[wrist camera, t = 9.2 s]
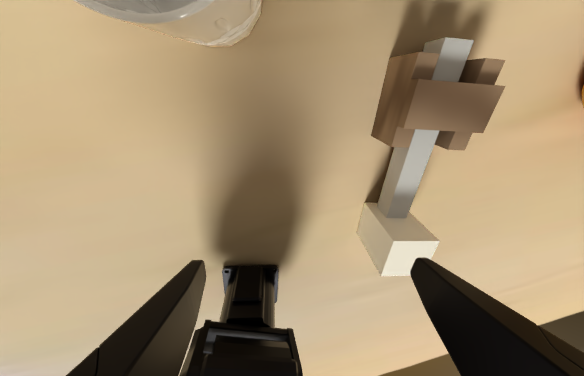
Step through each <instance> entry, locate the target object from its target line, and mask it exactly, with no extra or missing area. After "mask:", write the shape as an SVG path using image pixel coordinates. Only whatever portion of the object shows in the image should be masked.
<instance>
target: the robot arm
mask: <svg viewBox="0 0 584 376" xmlns="http://www.w3.org/2000/svg"><path fill="white" fill-rule="evenodd" d="M274 269H275V270H274ZM227 270H228V271H227ZM222 274H223V283H224V291H225V299H224V303H223V307H222V312H221V316H220V321H219V322H214V321H211V320H205V323H204V327H202V328H200V329H198V330H195V333H194V336H193V339H192V343H191V346H190V349H189V352H188V354H187V357H186V360H185V362H184V365H183V367H182V370H181V373H180V375H179V372H180V369H181V366H182V363H183V360H184V357H185V354H186V351H187V348H188V345H189V342H190V339H191V336H192V333H193V330H194V327H195V324H196V321H197V317H198V313H199V308H200V304H201V299H202V295H203V290H204V286H205V282H206V271H205V265H204V261H203V260H192V261H191V262H190V263H189V264H187V265H186V266H185V267H184V268H183V269H182V270H181V271H180V272H179V273H178V274H177V275H175V276H174V277H173V278H172V279H171V280H170V281H169V282H168V283H167V284H166V285H165V286H164V287H162V288H161V289H160V290H159V291H158V292H157V293H156V294H155V295H154V296H153V297H152V298H150V299H149V300H148V301H147V302H146V303H145V304H144V305H143V306H142V307H141V308H140V309H139V310H137V311H136V312H135V313H134V314H133V315H132V316H131V317H130V318H129V319H128V320H127V321H125V322H124V323H123V324H122V325H121V326H120V327H119V328H118V329H117V330H116V331H115V332H113V333H112V334H111V335H110V336H109V337H108V338H107V339H106V340H105V341H104V342H103V343H102V344H100V346H99V348H96V349H95V350H94V351H93V352H92V353H91V354H89V355H88V356H87V357H86V358H85V359H84V360H83V361H82V362H81V363H80V364H78V365H77V366H76V367H75V368H74V369H73V370H72V371H71V372H69V373H68V374H67V375H66V376H178V375H179V376H303V373H302V367H301V363H300V359H299V354H298V350H297V346H296V341H295V337H294V333H293V329H291V328H287V329H281V328H275V307H274V303H276V302H277V289H278V266H276V265H261V266H225V267H224V268H223V270H222ZM410 274H411V278H412V280H413V282H414V285H415V287H416V289H417V291H418V294H419V296H420V298H421V301H422V303H423V305H424V307H425V310H426V312H427V314H428V316H429V318H430V319H431V321H432V323H433V325H434V327H435V329H436V331H437V332H438V334H439V336H440V338H441V340H442V342H443V343H444V345H445V347H446V349H447V351H448V353H449V354H450V356H451V358H452V360H453V362H454V364H455V365H456V367H457V369H458V371H459V373H460V375H461V376H584V352H582V351H580V350H578V349H576V348H575V347H573V346H572V345H570V344H568V343H566V342H565V341H563V340H561V339H560V338H558V337H556V336H555V335H553V334H551V333H550V332H548V331H547V330H545V329H543V328H542V327H540V326H538V325H536V324H535V323H534V322H532V321H530V320H529V319H527V318H525V317H524V316H522V315H520V314H519V313H517V312H515V311H514V310H512V309H511V308H509V307H507V306H506V305H504V304H502V303H501V302H499V301H497V300H496V299H494V298H493V297H491V296H489V295H488V294H486V293H484V292H483V291H481V290H479V289H478V288H476V287H474V286H473V285H471V284H470V283H468V282H466V281H465V280H463V279H461V278H460V277H458V276H456V275H455V274H453V273H451V272H450V271H448V270H447V269H445V268H443V267H442V266H440V265H438V264H437V263H435V262H433V261H432V260H430V259H429V258H425V257H419V258H416V259H415V261H414V264H413V266H412V268H411V271H410Z"/></svg>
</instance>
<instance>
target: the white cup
mask: <svg viewBox="0 0 584 376" xmlns="http://www.w3.org/2000/svg"><path fill="white" fill-rule="evenodd" d="M74 1H75V2H77V3H79V4H81V5H83V6H85V7H87V8H89V9H91V10H93V11H96V12H98V13H101V14H103V15H106V16H109V17H112V18H115V19H118V20H121V21H125V22H128V23H131V24H134V25H137V26H140V27H143V28H146V29H149V30H152V31H155V32H158V33H161V34H164V35H167V36H170V37H173V38H177V39H180V40H184V41H188V42H192V43H196V44H202V45H206V46H209V47H224V46H232V45H234V44H235V43H237V42H239V41H240V40H242V39H243V38H245V37H247V36H248V35H249V34H250V32H251V31H252V29H253V27H254V25H255V23H256V22H257V20H258V18H259V16H260V15H261V10H262V1H263V0H74Z"/></svg>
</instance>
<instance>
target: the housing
mask: <svg viewBox="0 0 584 376" xmlns="http://www.w3.org/2000/svg"><path fill="white" fill-rule="evenodd" d="M439 55H440V54H437V53H427V52H415V53H410V54H406V55H401V56H396V57H391V58H390V59H389V63H388V68H387V72H386V76H385V80H384V84H383V89H382V93H381V97H380V101H379V105H378V110H377V114H376V118H375V122H374V126H373V131H372V135H371V136H372V137H374V138H376V139H378V140H380V141H382V142H383V143H385V144H387V145H389V146H391V147H404V148H409V146H410V143H411V140H412V137H413V134H414V131H415V129H420V130H437V131H439V134H438V136H437V139H436V141H435V145H437V146H440V147H443V148H445V149H448V150H465V148H466V146H467V144H468V141H469V139H470V137H471V135H472V133H483V132H484V130H485V128H486V126H487V124H488V122H489V119H490V117H491V115H492V113H493V111H494V109H495V107H496V105H497V103H498V100H499V98H500V96H501V94H502V92H503V90H504V88H505V86H498V85H494V84H495V82H496V80H497V77H498V75H499V73H500V71H501V69H502V66H503V64H504V62H505V60H499V59H488V58H484V59H475V60H466V63H465V65H464V68H463V70H462V73H461V76H460V78H459V81H458V82H449V81H437V80H431V79H432V76H433V73H434V70H435V67H436V64H437V61H438V58H439Z"/></svg>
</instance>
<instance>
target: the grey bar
mask: <svg viewBox="0 0 584 376" xmlns="http://www.w3.org/2000/svg"><path fill="white" fill-rule="evenodd" d="M473 42H474V40H467V39H458V38H448V37H445V38H441V39H437V40H433V41H429V42H425V45H424V49H423V52H427V53H437V54H440V55H439V58H438V61H437V64H436V67H435V70H434V73H433V76H432V79H431V80H437V81H449V82H458V81H459V78H460V76H461V73H462V70H463V68H464V65H465V63H466V60H467V57H468V55H469V52H470V49H471V47H472V44H473ZM438 134H439V131H437V130H420V129H415V131H414V134H413V137H412V140H411V143H410V146H409V148H404V147H394V151H393V154H392V157H391V161H390V164H389V167H388V171H387V174H386V178H385V181H384V184H383V188H382V191H381V195H380V198H379V201H378V203H364V207H363V210H362V214H361V218H360V222H359V226H358V230H357V234H358V236H359V238H360V239H361V241H362V243H363V245H364V247H365V249H366V250H367V252H368V254H369V256H370V258H371V259H372V261H373V263H374V265H375V267H376V268H377V270H378V272H379V274H380V276H411V274H410V271H411V268H412V266H413V264H414V261H415V259H416V258H419V257H425V258H429V259H430V260H431V258H432V256H433V254H434V252H435V250H436V248H437V246H438V244H439V242H440V241H439V240H438V239H437V238H436V237H435V236H434V235H433V234H432V233H431V232H430V231H429V230H428V229H427V228H426V227H425V226H424V225H423V224H421V223H420V222H419V221H418V220H417V219H416V218H415V217H414V216H413V215H412V214H411V213H410V212H409V210H410V207H411V204H412V202H413V199H414V197H415V194H416V191H417V189H418V186H419V183H420V181H421V178H422V176H423V173H424V170H425V168H426V165H427V162H428V160H429V157H430V155H431V152H432V149H433V147H434V144H435V141H436V139H437V136H438Z"/></svg>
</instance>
